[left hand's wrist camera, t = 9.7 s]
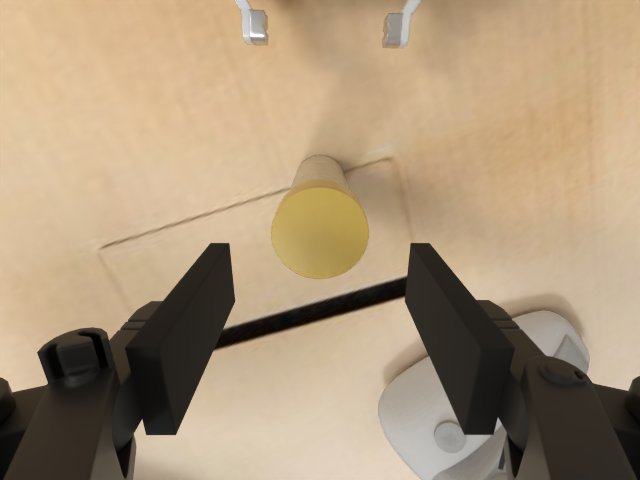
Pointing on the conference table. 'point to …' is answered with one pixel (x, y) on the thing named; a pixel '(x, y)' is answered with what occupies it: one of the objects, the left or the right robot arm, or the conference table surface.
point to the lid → (320, 229)
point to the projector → (440, 420)
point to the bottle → (319, 171)
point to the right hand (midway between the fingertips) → (325, 45)
